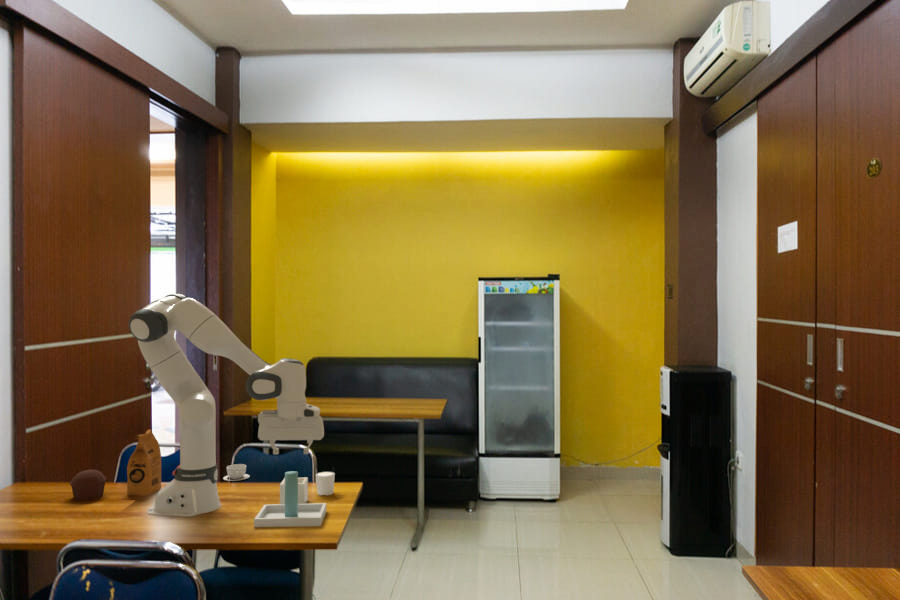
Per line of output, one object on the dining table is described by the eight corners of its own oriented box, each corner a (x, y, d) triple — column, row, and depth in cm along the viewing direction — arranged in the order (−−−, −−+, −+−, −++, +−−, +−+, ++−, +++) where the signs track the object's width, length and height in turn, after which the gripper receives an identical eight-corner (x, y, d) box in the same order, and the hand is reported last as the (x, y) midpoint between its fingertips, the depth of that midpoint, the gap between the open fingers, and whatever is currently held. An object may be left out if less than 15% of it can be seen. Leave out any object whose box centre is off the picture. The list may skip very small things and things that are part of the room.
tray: (254, 529, 193) (254, 519, 193) (264, 513, 207) (264, 504, 207) (320, 527, 194) (320, 517, 194) (326, 512, 208) (326, 503, 208)
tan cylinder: (330, 496, 225) (330, 476, 225) (312, 495, 226) (312, 475, 226) (337, 490, 232) (337, 471, 232) (320, 489, 233) (320, 470, 233)
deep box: (279, 508, 212) (279, 484, 212) (284, 500, 220) (284, 477, 220) (304, 507, 213) (304, 484, 213) (307, 500, 221) (307, 477, 221)
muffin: (100, 503, 218) (100, 474, 218) (64, 506, 215) (64, 476, 215) (110, 493, 230) (110, 465, 230) (76, 495, 227) (76, 467, 227)
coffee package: (121, 498, 223) (121, 436, 223) (138, 488, 236) (138, 429, 236) (150, 498, 223) (149, 436, 223) (165, 488, 236) (165, 428, 236)
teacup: (222, 476, 252) (222, 464, 252) (248, 473, 256) (248, 462, 256) (223, 483, 243) (223, 470, 243) (250, 480, 246) (250, 468, 246)
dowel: (283, 519, 199) (283, 474, 199) (286, 515, 203) (286, 471, 203) (296, 519, 199) (296, 474, 199) (298, 514, 203) (298, 471, 203)
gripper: (255, 411, 197) (255, 456, 197) (322, 411, 198) (321, 456, 198) (260, 408, 203) (259, 451, 203) (324, 408, 205) (324, 451, 205)
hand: (291, 453), depth 201 cm, fingers open, 8 cm apart
